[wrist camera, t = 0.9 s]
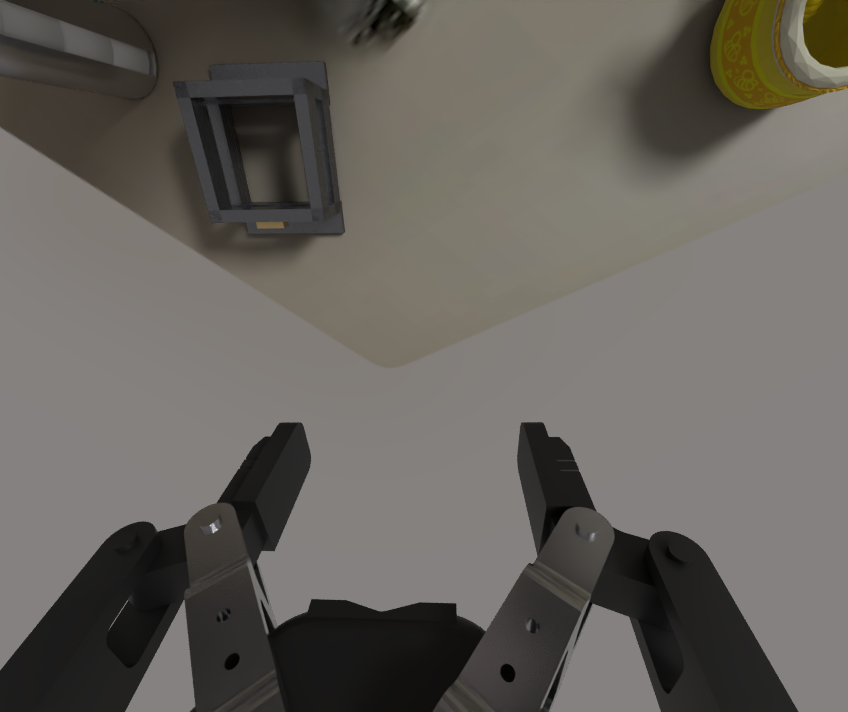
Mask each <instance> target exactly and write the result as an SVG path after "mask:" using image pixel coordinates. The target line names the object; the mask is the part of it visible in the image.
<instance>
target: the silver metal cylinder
mask: <svg viewBox="0 0 848 712" xmlns="http://www.w3.org/2000/svg"><path fill="white" fill-rule="evenodd" d="M157 75H158V64H157V59H156V54H155V51H154V48H153V46H152V43H151V41H150V39H149V38H148V36H147V34H146V33H145V31H144V30H143V28H142V27H141V26H140V25H139V24H138V23H137V21H136V20H135V19H133V18H132V17H131V16H130V15H128V14H127V13H126V12H124V11H122V10H120V9H118V8H116V7H114V6H111V5H109V4H107V3H105V2H102V1H100V0H0V77H6V78H11V79H17V80H22V81H28V82H34V83H39V84H45V85H50V86H56V87H62V88H67V89H73V90H78V91H84V92H90V93H95V94H101V95H106V96H112V97H118V98H123V99H130V100H136V99H141V98H143V97H145V96H147V95H148V94H150V92H151V91H152V89H153V88H154V87H155V83H156V80H157Z"/></svg>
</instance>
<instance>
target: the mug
mask: <svg viewBox="0 0 848 712" xmlns="http://www.w3.org/2000/svg"><path fill="white" fill-rule="evenodd" d="M710 66H711V71H712V74H713V78H714V81H715V84H716V85H717V87H718V88H719V89H720V91H721V92H722V93H723V95H724V96H725V97H727V98H728V99H729V100H730V101H732V102H733V103H734V104H737V105H740V106H743V107H745V108H748V109H771V108H778V107H783V106H787V105H791V104H794V103H798V102H801V101H804V100H807V99H810V98H813V97H816V96H819V95H822V94H825V93H828V92H833V91H840V90H843V89H846V88H848V0H726V1H725V3H724V5H723V8H722V10H721V12H720V15H719V17H718V19H717V22H716V24H715V26H714V31H713V36H712V41H711V46H710Z"/></svg>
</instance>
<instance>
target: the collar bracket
mask: <svg viewBox="0 0 848 712" xmlns="http://www.w3.org/2000/svg"><path fill="white" fill-rule="evenodd" d="M209 67H210V71H211V76H212V80H210V81H179V82H173V85H174V88H175V92H176V96H177V99H178V103H179V106H180V110H181V114H182V117H183V121H184V125H185V128H186V132H187V135H188V139H189V143H190V146H191V150H192V154H193V157H194V161H195V165H196V168H197V172H198V175H199V179H200V183H201V186H202V190H203V194H204V197H205V201H206V205H207V208H208V212H209V215H210V219H211V223H223V222H246V226H247V230H248V234H289V233H344V232H345V228H344V220H343V211H342V202H341V201H340V196H339V187H338V179H337V170H336V162H335V153H334V144H333V136H332V127H331V118H330V110H329V105H330V97H329V88H328V80H327V71H326V63H325V62H324V61H316V62H287V63H257V64H228V65H209ZM206 104H207V107H208V111H209V115H210V119H211V123H212V127H213V131H214V135H215V139H216V144H217V148H218V152H219V156H220V160H221V164H222V168H223V172H224V176H225V180H226V184H227V188H228V192H229V196H230V201H231V205H230V201H229V197H228V193H227V188H226V184H225V180H224V176H223V172H222V168H221V164H220V160H219V156H218V152H217V148H216V144H215V140H214V136H213V132H212V128H211V124H210V120H209V116H208V111H207V107H206ZM276 105H295V108H296V114H297V121H298V127H299V134H300V141H301V147H302V154H303V160H304V167H305V173H306V180H307V187H308V193H309V200H310V202H255V203H254V202H251V199H250V194H249V189H248V185H247V180H246V176H245V171H244V167H243V162H242V158H241V153H240V149H239V144H238V140H237V135H236V131H235V126H234V122H233V117H232V113H231V108H230V107H240V106H276Z"/></svg>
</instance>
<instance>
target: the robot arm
mask: <svg viewBox="0 0 848 712" xmlns="http://www.w3.org/2000/svg"><path fill="white" fill-rule="evenodd" d="M517 457H518V458H517V461H518V471H519V475H520V480H521V484H522V489H523V494H524V498H525V502H526V507H527V511H528V516H529V520H530V525H531V529H532V533H533V538H534V542H535V547H536V551H537V556H538V557H537V559H536V560H535V562H534V563H533V564H531V563H529V564H528V565H527V566H526V567H525V568H524V570H523V571H522V573H521V575H520V576H519V578H518V580H517V581H516V583H515V585H514V586H513V588H512V590H511V591H510V593H509V594H508V596H507V598H506V599H505V601H504V603H503V604H502V606H501V608H500V609H499V611H498V613H497V614H496V616H495V618H494V619H493V621H492V622H491V624H490V626H489V627H488V629H487V631H484V630H483V629H482V628H481V627H479V626H478V625H476V624H475V623H473V622H471V621H469V620H467V619H465V618H463V617H460V616H457V614H456V604H455V603H454V604H453V603H421V602H420V603H416V604H412V605H408V606H404V607H400V608H396V609H392V610H388V611H383V612H380V611H376V610H373V609H370V608H367V607H365V606H362V605H358V604H356V603H353V602H350V601H347V600H319V599H312V600H311V603H310V606H309V610H308V612H306V613H303V614H300V615H298V616H295V617H293V618H291V619H289V620H287V621H285V622H284V623H282V624H281V625H279V626H278V625H277V623H276V620H275V617H274V614H273V611H272V608H271V604H270V601H269V598H268V595H267V591H266V588H265V584H264V581H263V577H262V574H261V571H260V567H259V564H258V562H257V560H258V557H259V555H260V553H261V551H275V548H276V546H277V544H278V542H279V539H280V537H281V534H282V532H283V530H284V527H285V525H286V523H287V520H288V518H289V516H290V513H291V511H292V509H293V506H294V504H295V501H296V499H297V497H298V495H299V492H300V490H301V487H302V485H303V483H304V481H305V478H306V476H307V474H308V471H309V468H310V464H311V454H310V449H309V446H308V442H307V438H306V434H305V430H304V427H303V424H302V423H279V425H278V426H277V427H276V429H275V431H274V432H273V434H272V435H271V437H264V438H263V439H262V440H260V441H259V442H258V443H257V444H256V445H255V446H253V448H252V449H251V451H250V452H249V454H248V455H247V457H246V460H244V462H243V463H242V465H241V466H240V469H238V471H237V473H236V474H235V475H234V477H233V479H232V480H231V482H230V483H229V485H228V486H227V488H226V489H225V491H224V492H223V494H222V495H221V497H220V499H219V500H218V502H217V503H216V504H212V505H209V506H207V507H205V508H203V509H201V510H200V511H198V512H197V513H196V514H195V515H193V516H192V517H191V519H190V520H189V521H188V523H187V524H185V525H182V526H178V527H174V528H170V529H166V530H162V531H159V532H157V530H156V529H155V527H154V526H153V524H151V523H149V522H137V523H133V524H130V525H128V526H125V527H124V528H121V529H120V530H118V531H117V532H115V533H114V534H112V535H111V536H110V537H109V538H108V539H107V540H106V541H105V542H104V543H103V544H102V545H101V546H100V548H99V549H98V550H97V552H96V553H95V554H94V555H93V556H92V558H91V559H90V560H89V561H88V563H87V564H86V565H85V567H84V568H83V569H82V570H81V571H80V572H79V574H78V575H77V576H76V578H75V579H74V580H73V581H72V582H71V584H70V585H69V586H68V587H67V589H66V590H65V591H64V592H63V593H62V595H61V596H60V597H59V599H58V600H57V601H56V602H55V603H54V605H53V606H52V607H51V608H50V610H49V611H48V612H47V613H46V615H45V616H44V617H43V618H42V619H41V621H40V622H39V623H38V624H37V626H36V627H35V628H34V629H33V631H32V632H31V633H30V634H29V636H28V637H27V638H26V639H25V641H24V642H23V643H22V644H21V646H20V647H19V648H18V649H17V650H16V652H15V653H14V654H13V655H12V657H11V658H10V659H9V660H8V662H7V663H6V664H5V665H4V667H3V668H2V669H1V670H0V712H125V710H126V709H127V707H128V705H129V703H130V701H131V699H132V697H133V695H134V693H135V691H136V690H137V688H138V686H139V684H140V682H141V680H142V678H143V676H144V674H145V673H146V671H147V669H148V667H149V665H150V663H151V661H152V659H153V657H154V655H155V653H156V652H157V650H158V648H159V646H160V644H161V642H162V640H163V638H164V636H165V635H166V633H167V631H168V629H169V627H170V625H171V623H172V621H173V619H174V617H175V616H176V614H177V612H178V610H179V608H180V606H181V604H182V602H183V600H185V608H186V619H187V628H188V638H189V648H190V657H191V667H192V677H193V687H194V697H195V707H194V708H193V709H192V710H191V711H190V712H550V710H551V708H552V705H553V703H554V701H555V698H556V696H557V693H558V691H559V688H560V686H561V683H562V681H563V678H564V676H565V673H566V670H567V668H568V665H569V662H570V659H571V657H572V654H573V652H574V650H575V647H576V645H577V642H578V640H579V638H580V635H581V633H582V630H583V628H584V626H585V623H586V621H587V618H588V616H589V613H590V611H591V609H592V606H593V604H596V605H599V606H601V607H604V608H607V609H610V610H612V611H615V612H618V613H620V614H623V615H626V616H629V617H630V620H631V623H632V626H633V629H634V632H635V635H636V638H637V641H638V644H639V647H640V650H641V653H642V656H643V659H644V662H645V665H646V668H647V671H648V674H649V677H650V680H651V683H652V686H653V689H654V692H655V695H656V698H657V701H658V704H659V707H660V710H661V712H798V710H797V708H796V707H795V705H794V703H793V702H792V700H791V698H790V696H789V695H788V693H787V691H786V690H785V688H784V686H783V684H782V683H781V681H780V679H779V677H778V676H777V674H776V673H775V671H774V669H773V667H772V665H771V664H770V662H769V660H768V659H767V657H766V655H765V653H764V652H763V650H762V648H761V646H760V645H759V643H758V641H757V640H756V638H755V636H754V634H753V633H752V631H751V629H750V627H749V626H748V624H747V622H746V620H745V619H744V617H743V616H742V614H741V612H740V610H739V608H738V607H737V605H736V604H735V601H734V600H733V598H732V596H731V595H730V593H729V591H728V589H727V588H726V586H725V584H724V583H723V581H722V579H721V577H720V576H719V574H718V572H717V570H716V569H715V567H714V565H713V564H712V562H711V560H710V558H709V557H708V555H707V554H706V552H705V551H704V550H703V549H702V548H701V547H700V546H699V545H698V544H697V543H695V542H694V541H692V540H691V539H689V538H688V537H686V536H684V535H681V534H679V533H675V532H670V531H661V532H657V533H655V534H653V535H652V536H651V538H650V540H648V539H644V538H641V537H638V536H634V535H631V534H627V533H624V532H621V531H619V530H617V529H615V528H613V527H612V526H611V524H610V523H609V521H608V520H607V519H606V518H605V517H604V516H602V515H601V514H600V513H598V512H597V511H596V509H595V507H594V505H593V502H592V500H591V498H590V495H589V493H588V491H587V488H586V486H585V483H584V481H583V478H582V476H581V474H580V472H579V469H578V466H577V464H576V462H575V459H574V457H573V454H572V452H571V449H570V447H569V446H568V445H567V444H566V443H565V442H564V441H563V440H562V439H561V438H560V437H549V436H548V434H547V431H546V428H545V425H544V424H543V423H542V422H534V423H533V422H532V423H531V422H527V423H521V426H520V435H519V445H518V455H517ZM127 600H128V602H127V604H126V605H125V607H124V608H123V606H124V604H125V603H126V601H127ZM122 608H123V610H122V611H121V609H122ZM120 611H121V613H120V614H119V612H120ZM118 614H119V616H118V617H117V615H118ZM116 617H117V619H116V620H115V618H116ZM114 620H115V622H114V624H113V625H112V627H111V628H110V626H111V624H112V623H113V621H114ZM109 628H110V630H109Z"/></svg>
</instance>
